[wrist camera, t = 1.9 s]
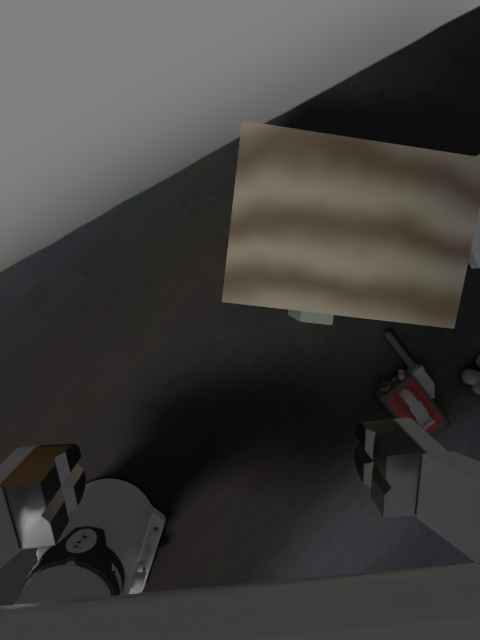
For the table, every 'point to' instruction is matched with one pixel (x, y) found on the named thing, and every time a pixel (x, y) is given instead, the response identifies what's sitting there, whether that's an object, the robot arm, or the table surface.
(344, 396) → the table surface
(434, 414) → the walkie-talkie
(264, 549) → the table surface
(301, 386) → the table surface
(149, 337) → the table surface
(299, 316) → the sage wooden block
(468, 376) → the chubby cartoon animal
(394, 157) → the wood grain stool
